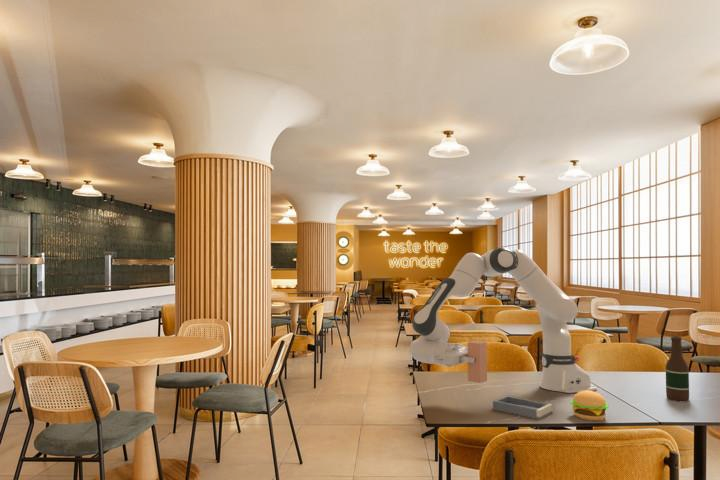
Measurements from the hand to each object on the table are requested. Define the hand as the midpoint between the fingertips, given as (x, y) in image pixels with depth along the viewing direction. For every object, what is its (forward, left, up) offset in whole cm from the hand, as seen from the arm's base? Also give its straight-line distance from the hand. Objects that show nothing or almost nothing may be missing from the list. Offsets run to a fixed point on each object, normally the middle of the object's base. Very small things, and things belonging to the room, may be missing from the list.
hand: (479, 359), depth 188 cm
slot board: (-13, +6, -18) cm, 23 cm away
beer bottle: (-80, -2, -18) cm, 82 cm away
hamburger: (-33, +15, -18) cm, 41 cm away
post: (+1, -1, -8) cm, 8 cm away
